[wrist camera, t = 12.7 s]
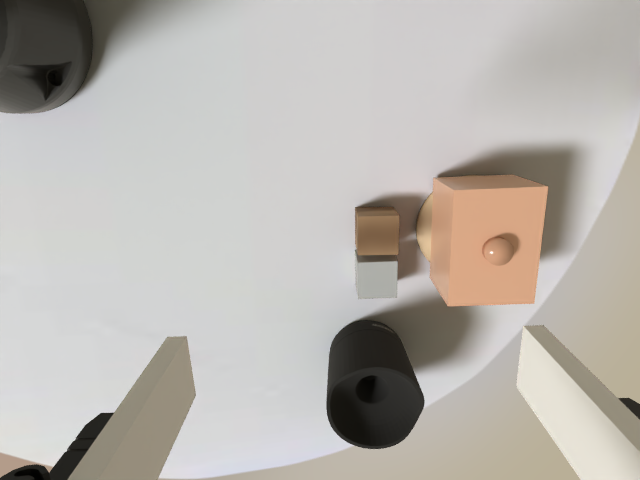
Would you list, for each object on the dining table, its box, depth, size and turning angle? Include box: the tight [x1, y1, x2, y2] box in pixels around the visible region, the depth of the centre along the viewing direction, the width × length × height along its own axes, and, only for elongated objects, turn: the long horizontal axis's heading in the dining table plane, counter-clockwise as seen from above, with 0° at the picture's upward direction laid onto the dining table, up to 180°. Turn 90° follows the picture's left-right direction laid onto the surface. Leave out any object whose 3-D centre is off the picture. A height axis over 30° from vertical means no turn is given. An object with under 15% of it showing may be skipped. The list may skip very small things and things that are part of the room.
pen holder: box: [327, 321, 424, 449], centre depth 44 cm, size 9×9×10 cm
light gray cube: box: [355, 250, 398, 299], centre depth 44 cm, size 4×4×4 cm
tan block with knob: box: [430, 174, 548, 306], centre depth 40 cm, size 11×8×8 cm
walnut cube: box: [355, 207, 399, 255], centre depth 42 cm, size 4×4×4 cm
